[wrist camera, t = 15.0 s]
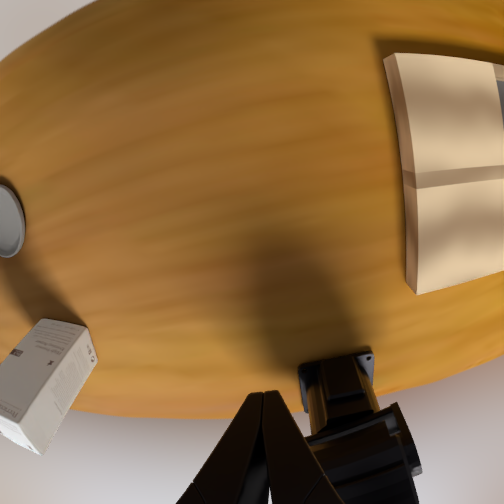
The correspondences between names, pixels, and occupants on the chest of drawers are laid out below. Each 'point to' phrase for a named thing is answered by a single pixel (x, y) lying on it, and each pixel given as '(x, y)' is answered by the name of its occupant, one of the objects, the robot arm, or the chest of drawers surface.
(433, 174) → the board
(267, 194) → the chest of drawers surface
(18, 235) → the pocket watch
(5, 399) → the skincare box
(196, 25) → the chest of drawers surface
